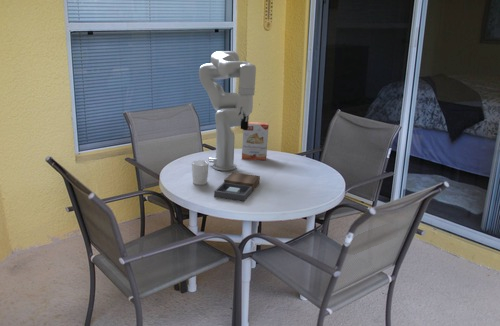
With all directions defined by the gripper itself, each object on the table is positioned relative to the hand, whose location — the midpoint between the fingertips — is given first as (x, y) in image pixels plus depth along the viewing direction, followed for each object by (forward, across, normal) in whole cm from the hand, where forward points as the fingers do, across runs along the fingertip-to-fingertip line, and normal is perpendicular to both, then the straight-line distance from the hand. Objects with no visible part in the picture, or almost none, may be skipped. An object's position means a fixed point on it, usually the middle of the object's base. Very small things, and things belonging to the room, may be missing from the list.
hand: (244, 129), depth 235 cm
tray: (+26, +21, +3) cm, 33 cm away
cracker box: (+27, -37, -5) cm, 46 cm away
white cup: (+26, +12, -17) cm, 34 cm away
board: (+26, +8, +3) cm, 27 cm away
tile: (+23, +21, +3) cm, 31 cm away
